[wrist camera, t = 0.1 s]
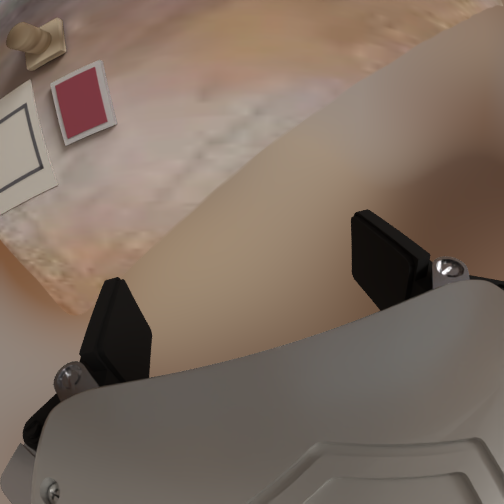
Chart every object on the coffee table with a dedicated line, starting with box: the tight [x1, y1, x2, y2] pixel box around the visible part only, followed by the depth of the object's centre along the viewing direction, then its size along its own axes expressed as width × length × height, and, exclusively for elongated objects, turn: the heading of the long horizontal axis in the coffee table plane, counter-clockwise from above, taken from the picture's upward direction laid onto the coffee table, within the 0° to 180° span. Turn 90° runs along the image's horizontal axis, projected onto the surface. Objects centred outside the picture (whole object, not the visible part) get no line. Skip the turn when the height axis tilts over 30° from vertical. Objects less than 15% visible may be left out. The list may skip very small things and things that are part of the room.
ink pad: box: [51, 60, 117, 146], centre depth 30 cm, size 10×8×2 cm
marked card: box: [0, 79, 58, 215], centre depth 29 cm, size 18×14×1 cm
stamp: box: [6, 18, 66, 71], centre depth 20 cm, size 6×6×10 cm
